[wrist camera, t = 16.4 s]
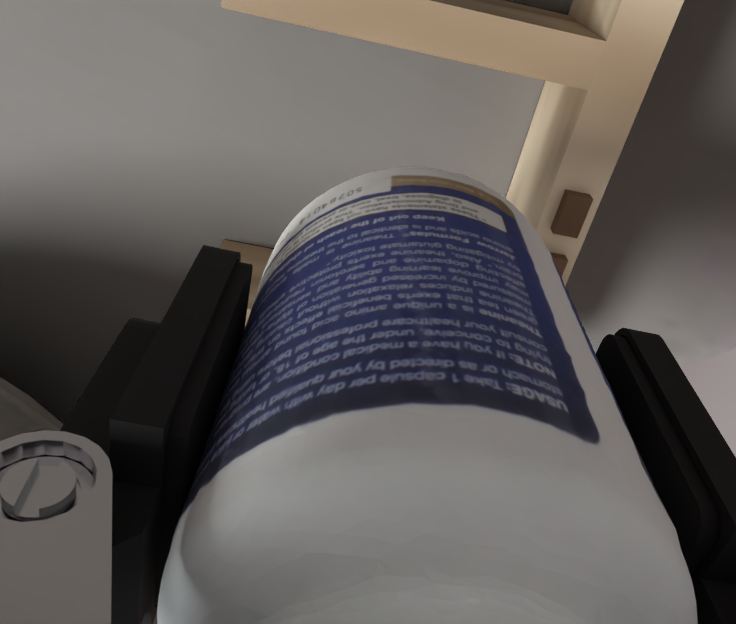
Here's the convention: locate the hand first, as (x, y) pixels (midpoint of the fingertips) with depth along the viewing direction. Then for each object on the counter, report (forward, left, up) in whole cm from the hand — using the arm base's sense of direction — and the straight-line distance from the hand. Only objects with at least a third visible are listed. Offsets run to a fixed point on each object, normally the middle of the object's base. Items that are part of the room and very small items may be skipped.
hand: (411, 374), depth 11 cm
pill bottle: (0, 0, -3) cm, 3 cm away
